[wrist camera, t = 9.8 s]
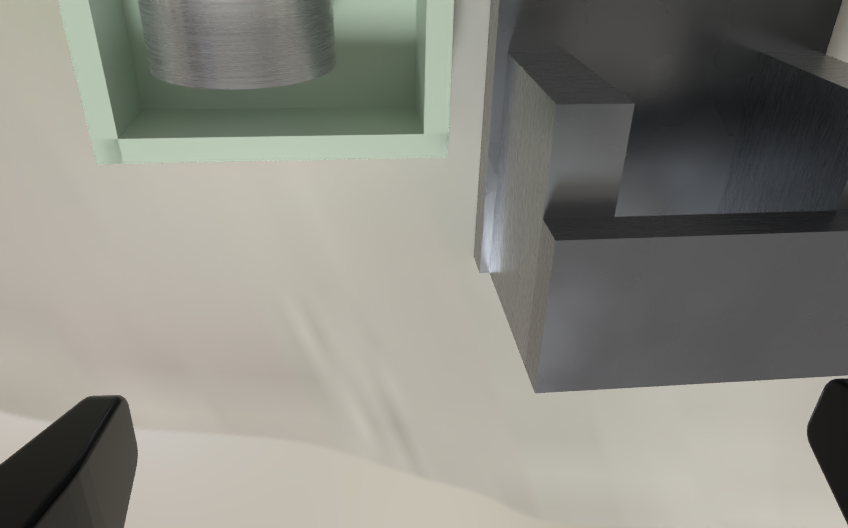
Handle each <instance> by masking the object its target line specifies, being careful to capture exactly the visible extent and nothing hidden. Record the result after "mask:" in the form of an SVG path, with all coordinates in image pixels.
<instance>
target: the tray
mask: <svg viewBox="0 0 848 528" xmlns="http://www.w3.org/2000/svg"><path fill="white" fill-rule="evenodd" d="M58 4H59V8H60V12H61V17H62V21H63V25H64V29H65V33H66V38H67V42H68V46H69V50H70V55H71V59H72V63H73V67H74V72H75V76H76V80H77V84H78V89H79V93H80V97H81V101H82V106H83V110H84V114H85V118H86V122H87V127H88V131H89V135H90V139H91V144H92V148H93V152H94V156H95V161H96V164H133V163H184V162H236V161H287V160H338V159H390V158H441V157H448V137H449V113H450V89H451V64H452V40H453V16H454V0H333V7H334V30H335V53H336V66H335V68H334V69H333V70H332V71H331V72H330V73H328V74H326V75H324V76H322V77H319V78H316V79H313V80H310V81H306V82H301V83H297V84H291V85H286V86H278V87H270V88H259V89H236V90H225V89H203V88H192V87H185V86H180V85H175V84H171V83H167V82H164V81H161V80H159V79H157V78H155V77H154V76H153V75H152V74H151V72H150V67H149V61H148V56H147V50H146V45H145V39H144V34H143V28H142V23H141V17H140V11H139V6H138V0H58Z"/></svg>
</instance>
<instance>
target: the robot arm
mask: <svg viewBox="0 0 848 528" xmlns="http://www.w3.org/2000/svg"><path fill="white" fill-rule="evenodd" d="M807 437H808V441H809V444H810V446H811V448H812V450H813V452H814V454H815V457H816V459H817V461H818V463H819V465H820V467H821V469H822V471H823V473H824V476H825V478H826V480H827V482H828V484H829V486H830V488H831V490H832V493H833V495H834V497H835V499H836V501H837V503H838V505H839V507H840V509H841V512H842V514H843V516H844V518H845V520H846V522H847V524H848V379H834V380H831V381H830V382H829V383H827V384H826V386H825V387H824V389H823V391H822V394H821V396H820V398H819V400H818V402H817V405H816V407H815V409H814V411H813V413H812V416H811V418H810V420H809V422H808V426H807ZM137 457H138V450H137V442H136V438H135V433H134V428H133V423H132V419H131V414H130V409H129V405H128V402H127V401H126V399H125V398H124V397H122V396H120V395H105V396H89V397H87V398H85V399H83V400H82V401H80V402H79V403H78V404H77V405H75V406H74V407H73V408H72V409H70V410H69V411H68V412H66V413H65V414H64V415H63V416H61V417H60V418H59V419H58V420H56V421H55V422H54V423H52V424H51V425H50V426H49V427H47V428H46V429H45V430H44V431H42V432H41V433H40V434H39V435H37V436H36V437H35V438H33V439H32V440H31V441H30V442H28V443H27V444H26V445H24V446H23V447H22V448H21V449H20V450H18V451H17V452H16V453H14V454H13V455H12V456H10V457H9V458H8V459H7V460H5V461H4V462H3V463H2V464H0V528H124V524H125V519H126V514H127V510H128V504H129V500H130V495H131V490H132V486H133V481H134V476H135V471H136V466H137Z"/></svg>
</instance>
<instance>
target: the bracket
mask: <svg viewBox="0 0 848 528" xmlns="http://www.w3.org/2000/svg"><path fill="white" fill-rule="evenodd" d="M841 3H842V0H491V9H490V24H489V39H488V54H487V69H486V84H485V99H484V114H483V129H482V144H481V159H480V173H479V188H478V203H477V218H476V233H475V248H474V258H475V261H476V264H477V267H478V269H479V272H480V273H486V272H489V273H490V275H491V278H492V280H493V283H494V286H495V288H496V291H497V294H498V296H499V299H500V302H501V304H502V307H503V310H504V312H505V315H506V318H507V320H508V323H509V326H510V328H511V331H512V333H513V336H514V339H515V341H516V344H517V347H518V349H519V352H520V355H521V357H522V360H523V363H524V365H525V368H526V371H527V373H528V376H529V378H530V381H531V384H532V386H533V389H534V392H535V393H546V392H563V391H581V390H598V389H616V388H633V387H651V386H668V385H686V384H703V383H720V382H738V381H755V380H773V379H790V378H808V377H825V376H843V375H848V63H846V62H843V61H841V60H838V59H835V58H833V57H830V56H827V55H825V54H826V51H827V48H828V44H829V41H830V38H831V35H832V32H833V28H834V25H835V22H836V19H837V16H838V12H839V9H840V6H841Z"/></svg>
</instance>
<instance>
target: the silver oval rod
mask: <svg viewBox="0 0 848 528" xmlns="http://www.w3.org/2000/svg"><path fill="white" fill-rule="evenodd" d="M138 6H139V11H140V17H141V23H142V28H143V34H144V39H145V45H146V50H147V56H148V61H149V67H150V72H151V74H152V75H153V76H154V77H155V78H157V79H159V80H161V81H164V82H167V83H171V84H175V85H180V86H185V87H192V88H203V89H225V90H236V89H259V88H270V87H278V86H286V85H291V84H297V83H301V82H306V81H310V80H313V79H316V78H319V77H322V76H324V75H326V74H328V73H330V72H331V71H332V70H333V69H334V68H335V66H336V53H335V30H334V7H333V0H138Z"/></svg>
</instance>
